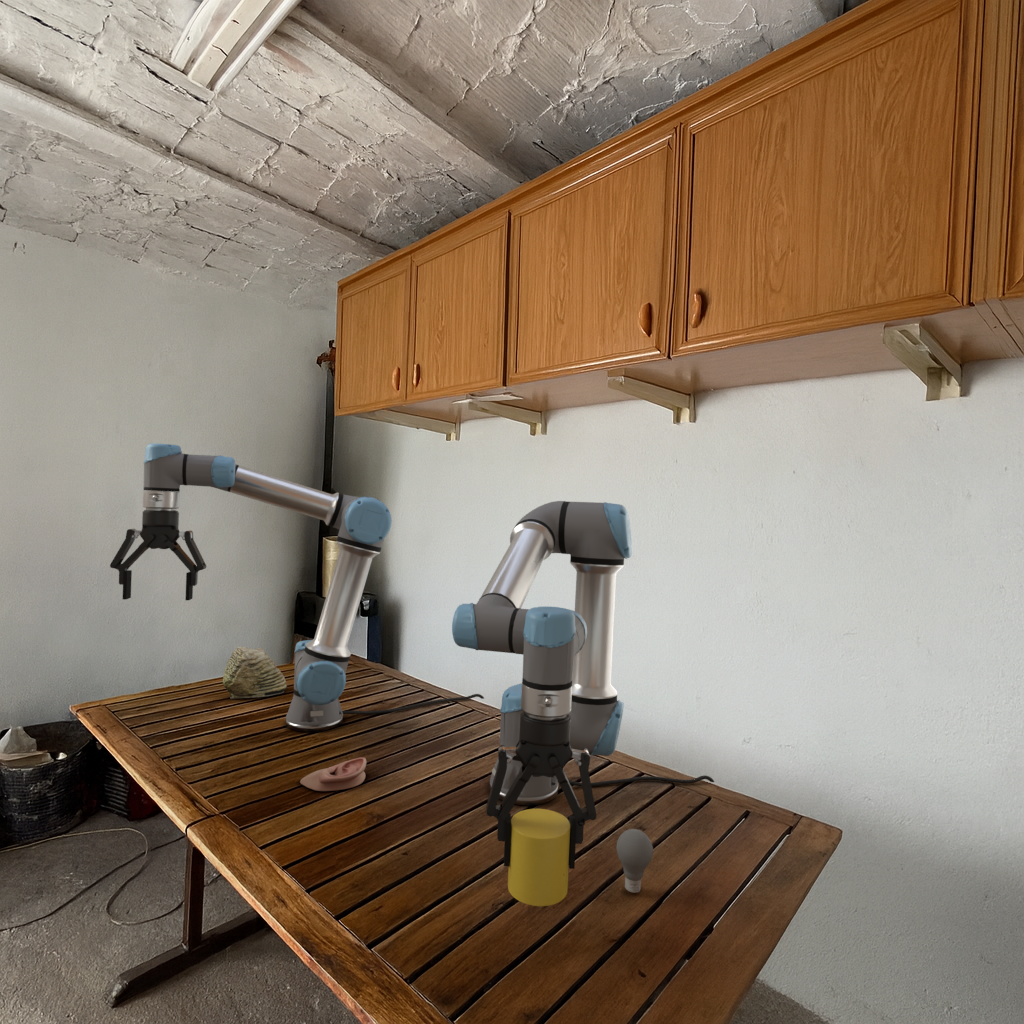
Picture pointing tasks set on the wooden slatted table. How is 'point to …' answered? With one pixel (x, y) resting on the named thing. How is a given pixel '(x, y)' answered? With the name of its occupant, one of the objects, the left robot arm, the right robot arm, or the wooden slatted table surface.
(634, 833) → the light bulb
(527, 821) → the canister
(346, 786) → the anatomical model
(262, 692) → the fossil
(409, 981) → the wooden slatted table surface
